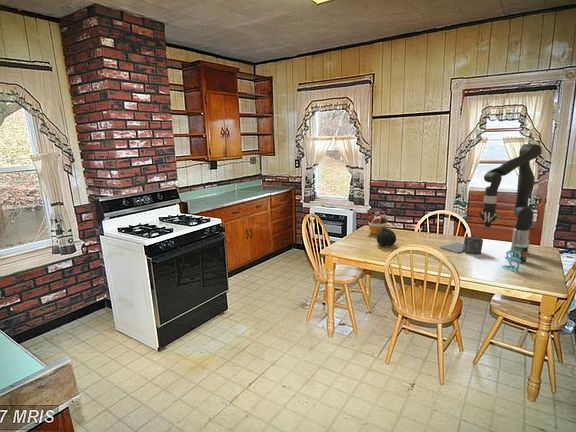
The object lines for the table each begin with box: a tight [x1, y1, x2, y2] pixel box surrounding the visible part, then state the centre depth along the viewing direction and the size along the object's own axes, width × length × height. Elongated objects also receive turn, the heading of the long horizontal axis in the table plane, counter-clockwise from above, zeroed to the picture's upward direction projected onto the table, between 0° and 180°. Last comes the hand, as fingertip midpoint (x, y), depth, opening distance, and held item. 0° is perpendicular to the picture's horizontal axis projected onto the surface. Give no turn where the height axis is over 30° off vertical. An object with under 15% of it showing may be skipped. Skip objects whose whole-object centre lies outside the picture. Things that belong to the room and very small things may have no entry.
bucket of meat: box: [365, 209, 389, 236], centre depth 302 cm, size 20×16×20 cm
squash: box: [376, 227, 397, 248], centre depth 270 cm, size 14×15×15 cm
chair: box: [501, 249, 522, 273], centre depth 217 cm, size 8×8×12 cm
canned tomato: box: [512, 244, 529, 264], centre depth 230 cm, size 8×8×11 cm
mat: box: [439, 241, 465, 254], centre depth 260 cm, size 15×20×1 cm
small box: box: [463, 236, 484, 255], centre depth 248 cm, size 11×6×10 cm, turn 81°
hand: (487, 226), depth 237 cm, fingers closed
